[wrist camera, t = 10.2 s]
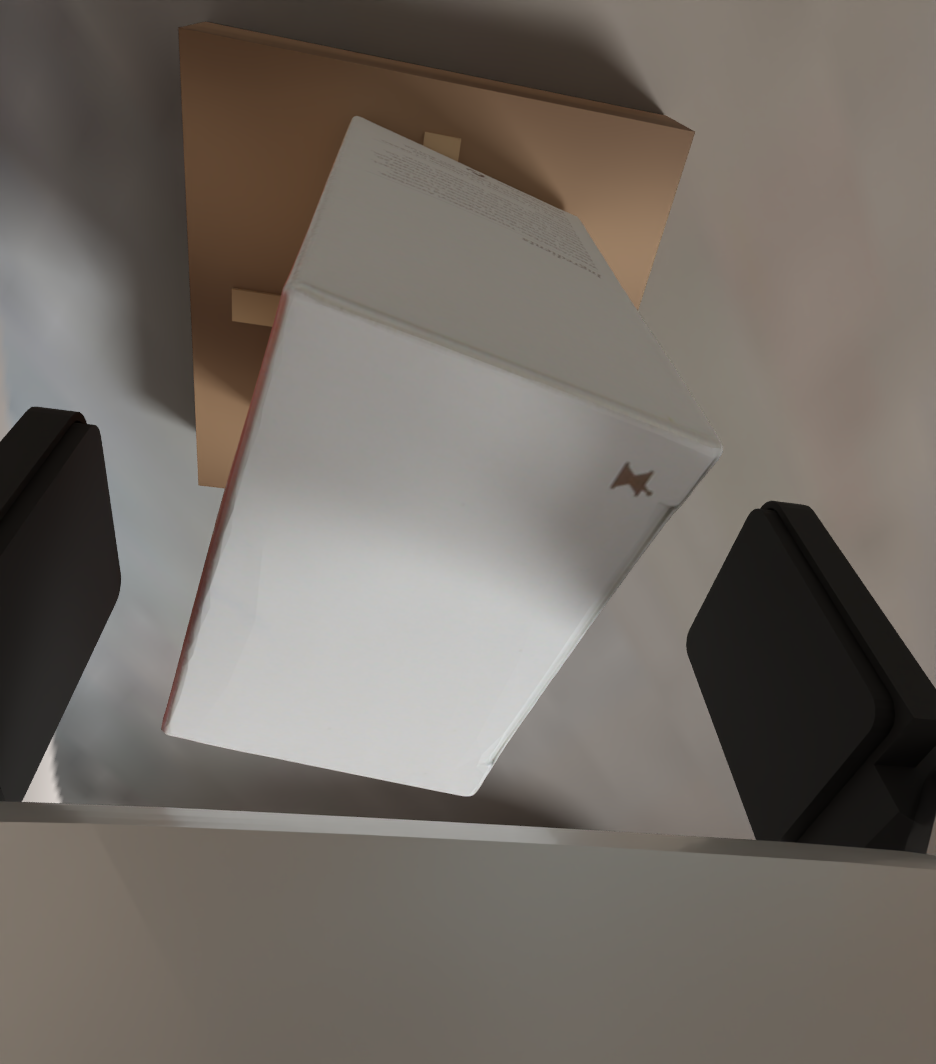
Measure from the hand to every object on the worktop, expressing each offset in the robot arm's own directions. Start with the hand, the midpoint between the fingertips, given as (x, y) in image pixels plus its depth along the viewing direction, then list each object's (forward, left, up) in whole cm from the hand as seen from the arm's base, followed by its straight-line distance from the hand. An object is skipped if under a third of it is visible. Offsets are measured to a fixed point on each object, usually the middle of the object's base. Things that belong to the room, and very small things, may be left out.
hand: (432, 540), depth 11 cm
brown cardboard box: (+1, 0, -12) cm, 12 cm away
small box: (0, 0, -10) cm, 10 cm away
